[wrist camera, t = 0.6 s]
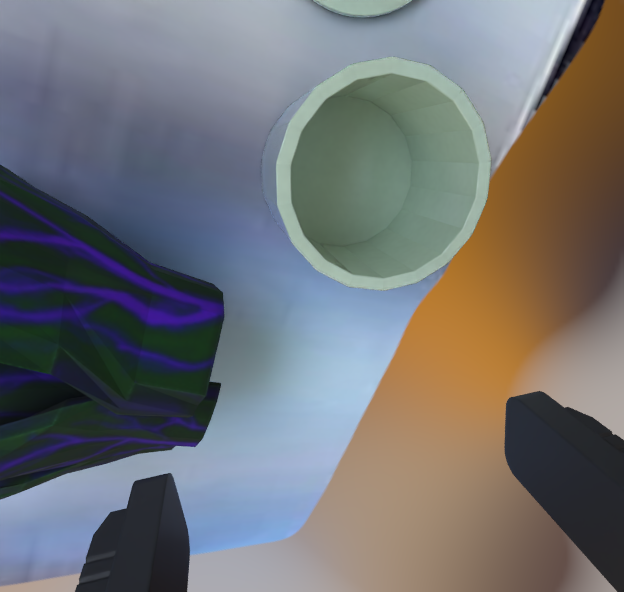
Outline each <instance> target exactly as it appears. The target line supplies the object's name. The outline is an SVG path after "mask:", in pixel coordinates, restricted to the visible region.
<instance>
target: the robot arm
mask: <svg viewBox="0 0 624 592" xmlns="http://www.w3.org/2000/svg"><path fill="white" fill-rule="evenodd" d="M505 421H506V422H505V456H506V460H507V463H508V465H509V467H510V470H511V471H512V473H513V474H514V476H515V477H516V478H517V479H518V480H519V482H520V483H521V484H522V485H523V486H524V487H525V488H526V489H527V491H528V492H529V493H530V494H531V495H532V496H533V497H534V498H535V500H536V501H537V502H538V503H539V504H540V505H541V506H542V507H543V509H544V510H545V511H546V512H547V513H548V514H549V515H550V516H551V518H552V519H553V520H554V521H555V522H556V523H557V524H558V525H559V526H560V528H561V529H562V530H563V531H564V532H565V533H566V534H567V535H568V537H569V538H570V539H571V540H572V541H573V542H574V543H575V544H576V546H577V547H578V548H579V549H580V550H581V551H582V552H583V553H584V555H585V556H586V557H587V558H588V559H589V560H590V561H591V563H592V564H593V565H594V566H595V567H596V568H597V569H598V570H599V571H600V573H601V574H602V575H603V576H604V577H605V578H606V579H607V581H608V582H609V583H610V584H611V585H612V586H613V587H614V588H615V589H616V591H617V592H624V440H623V439H621V438H620V437H618V436H617V435H613V434H612V431H610V430H609V429H607V428H606V427H605V426H603V425H602V424H601V423H599V422H598V421H597V420H595V419H594V418H593V417H590V416H588V415H586V414H583V413H581V412H578V411H576V410H574V409H571V408H569V407H566V408H564V407H562V406H561V405H560V404H559V403H557V402H556V401H555V400H553V399H552V398H551V397H549V396H548V395H547V394H545V393H544V392H540V391H538V392H533V393H529V394H524V395H520V396H516V397H511V398H509V399H508V401H507V403H506V420H505ZM189 557H190V547H189V536H188V529H187V525H186V521H185V518H184V514H183V510H182V507H181V503H180V500H179V496H178V492H177V489H176V485H175V482H174V478H173V476H172V474H171V473H168V474H163V475H159V476H155V477H150V478H146V479H141V480H137V481H135V482H134V483H133V486H132V490H131V494H130V497H129V501H128V505H127V509H122V510H118V511H114V512H110V514H109V515H108V516H107V518H106V519H105V520H104V522H103V523H102V524H101V526H100V527H99V528H98V530H97V531H96V532H95V534H94V535H93V538H92V541H91V544H90V547H89V550H88V553H87V557H86V564H84V566H83V569H82V572H81V575H80V578H79V585H77V587H76V590H75V592H187V585H188V572H189Z"/></svg>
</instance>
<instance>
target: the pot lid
mask: <svg viewBox="0 0 624 592" xmlns="http://www.w3.org/2000/svg"><path fill="white" fill-rule="evenodd" d="M313 1H314V2H315V3H317V4H319V5H321V6H322V7H324V8H326V9H328V10H330V11H333V12H336V13H338V14H342V15H346V16H351V17H363V18H364V17H376V16H380V15H384V14H388V13H390V12H393V11H395V10H398V9H400V8H401V7H403V6H405V5H406V4H408V3H410V2H411V1H412V0H313Z"/></svg>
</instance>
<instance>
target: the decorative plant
mask: <svg viewBox="0 0 624 592" xmlns="http://www.w3.org/2000/svg"><path fill="white" fill-rule="evenodd" d="M223 320H224V301H223V292H221V291H220V290H219V289H218V288H217V287H216V286H215V285H214V284H212V283H209V282H206V281H203V280H200V279H197V278H194V277H191V276H188V275H185V274H182V273H179V272H177V271H174V270H171V269H168V268H165V267H162V266H159V265H156V264H153V263H150V262H148V261H147V260H146V259H144V258H143V257H142V256H140V255H139V254H138V253H136V252H135V251H133V250H132V249H131V248H129V247H128V246H127V245H125V244H124V243H123V242H121V241H120V240H119V239H117V238H116V237H115V236H113V235H112V234H110V233H109V232H108V231H106V230H105V229H104V228H102V227H101V226H100V225H98V224H97V223H96V222H94V221H93V220H92V219H90V218H89V217H88V216H86V215H84V214H83V213H81V212H79V211H77V210H75V209H73V208H71V207H70V206H68V205H66V204H64V203H62V202H60V201H59V200H57V199H55V198H53V197H51V196H49V195H48V194H46V193H44V192H42V191H40V190H38V189H37V188H35V187H33V186H32V185H30V184H29V183H27V182H26V181H24V180H23V179H21V178H20V177H19V176H17V175H16V174H14V173H13V172H11V171H10V170H8V169H6V168H5V167H3V166H2V165H0V499H3V498H6V497H9V496H11V495H14V494H17V493H20V492H22V491H25V490H27V489H29V488H32V487H34V486H37V485H39V484H42V483H44V482H47V481H49V480H51V479H54V478H56V477H59V476H61V475H64V474H67V473H71V472H75V471H79V470H83V469H87V468H91V467H95V466H99V465H103V464H107V463H110V462H113V461H116V460H119V459H123V458H126V457H129V456H132V455H135V454H139V453H148V452H157V451H165V450H172V449H173V448H174V447H175V446H190V447H196V445H197V444H198V443H199V442H200V441H201V440H202V439H203V437H204V434H205V432H206V429H207V427H208V425H209V422H210V420H211V417H212V414H213V411H214V408H215V406H216V403H217V399H218V395H219V391H220V387H221V383H216V382H209V381H210V377H211V372H212V368H213V364H214V359H215V355H216V351H217V346H218V342H219V338H220V333H221V329H222V325H223Z"/></svg>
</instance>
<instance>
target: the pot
mask: <svg viewBox="0 0 624 592" xmlns="http://www.w3.org/2000/svg"><path fill="white" fill-rule="evenodd" d="M490 170H491V156H490V151H489V146H488V142H487V137H486V132H485V127H484V124H483V121H482V119H481V118H480V116H479V114H478V113H477V111H476V110H475V108H474V106H473V105H472V103H471V101H470V100H469V98H468V97H467V95H466V93H465V92H464V90H462V88H461V87H459V86H458V85H457V84H455V83H454V82H452V81H451V80H450V79H448V78H447V77H446V76H444V75H443V74H442V73H440V72H439V71H438V70H436V69H435V68H434V67H431V65H427V64H423V63H419V62H414V61H410V60H406V59H402V58H398V57H387V58H381V59H376V60H370V61H364V62H359V63H353V64H351V65H349V66H347V67H346V68H344V69H343V70H341V71H340V72H338V73H336V74H335V75H333V76H332V77H330V78H328V79H327V80H325V81H324V82H322V83H321V84H319V85H317V86H316V87H314V88H313V89H312V90H310V91H309V92H307V93H306V94H305V95H303V96H302V97H301V98H299V99H298V100H296V101H295V102H294V103H292V104H291V105H290V106H288V108H287V109H286V110H285V112H284V113H283V114H282V115H281V117H280V118H279V119H278V121H277V122H276V124H275V125H274V126H273V128H272V129H271V131H270V133H269V137H268V139H267V142H266V145H265V148H264V152H263V156H262V159H261V180H262V191H263V194H264V197H265V199H266V202H267V205H268V207H269V209H270V212H271V214H272V217H273V219H274V220H275V222H276V223H277V224H278V226H279V227H280V228H281V230H282V231H283V232H284V233H285V235H286V236H287V237H288V239H289V240H290V241H291V243H292V244H293V245H294V246H295V247H296V248H297V249H298V251H299V252H300V253H301V254H302V255H303V256H304V257H305V258H306V259H307V261H308V262H309V263H310V264H311V265H312V266H313V267H314V268H315V269H316V270H317V271H318V272H320V273H322V274H324V275H326V276H328V277H330V278H332V279H334V280H336V281H338V282H340V283H342V284H344V285H345V286H349V287H353V288H362V289H371V290H380V291H382V290H383V291H385V290H389V289H394V288H398V287H402V286H406V285H410V284H414V283H417V282H419V281H421V280H422V279H424V278H426V277H427V276H429V275H430V274H432V273H433V272H435V271H437V270H438V269H440V268H441V267H443V266H445V265H446V264H447V263H448V262H450V260H451V259H452V258H453V257H454V256H455V254H456V253H457V252H458V251H459V250H460V248H461V247H462V246H463V245H464V244H465V243H466V242H467V240H468V239H469V238H470V237H471V234H473V232H474V229H475V227H476V224H477V223H478V220H479V218H480V215H481V213H482V211H483V209H484V206H485V204H486V202H487V200H486V199H487V198H488V189H489V179H490Z"/></svg>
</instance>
